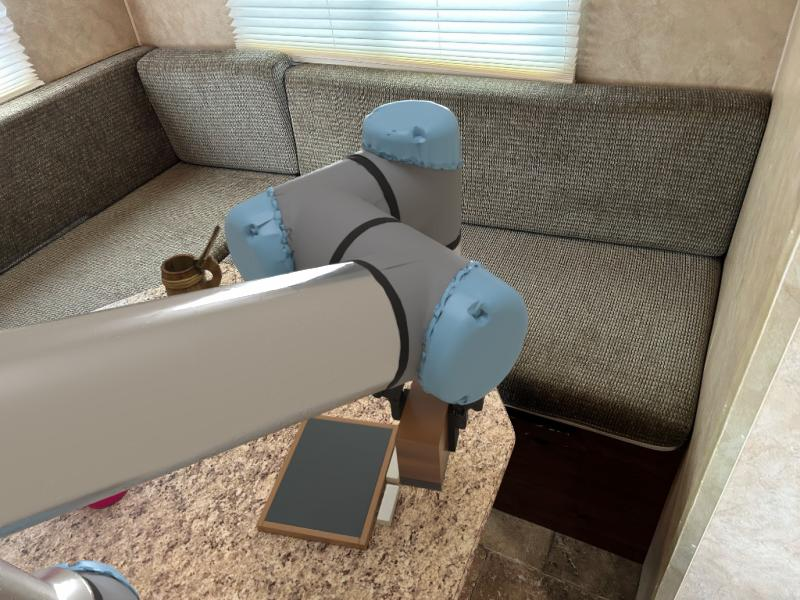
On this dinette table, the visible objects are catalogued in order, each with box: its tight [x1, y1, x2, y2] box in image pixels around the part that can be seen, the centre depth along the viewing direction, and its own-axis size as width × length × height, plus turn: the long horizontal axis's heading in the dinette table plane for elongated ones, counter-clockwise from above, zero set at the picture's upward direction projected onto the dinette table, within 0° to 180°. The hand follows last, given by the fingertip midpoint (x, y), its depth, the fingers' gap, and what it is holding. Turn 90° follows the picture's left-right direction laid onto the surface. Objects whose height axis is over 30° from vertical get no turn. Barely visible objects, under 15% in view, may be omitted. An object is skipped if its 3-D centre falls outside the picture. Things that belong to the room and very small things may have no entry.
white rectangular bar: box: [376, 483, 401, 527], centre depth 76 cm, size 5×1×2 cm
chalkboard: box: [255, 414, 399, 551], centre depth 80 cm, size 18×14×1 cm
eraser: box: [395, 381, 451, 492], centre depth 68 cm, size 12×5×8 cm, turn 166°
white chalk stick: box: [386, 446, 400, 485], centre depth 80 cm, size 5×1×2 cm
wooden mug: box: [160, 224, 223, 297], centre depth 103 cm, size 9×14×18 cm, turn 90°
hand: (431, 438), depth 70 cm, fingers closed on eraser, 5 cm apart
